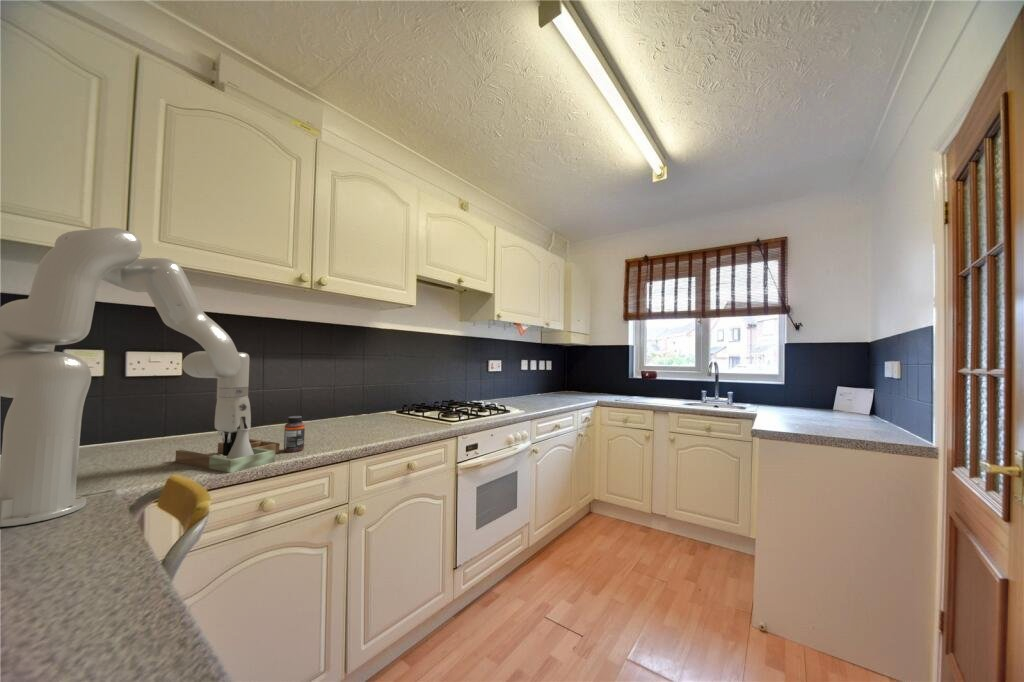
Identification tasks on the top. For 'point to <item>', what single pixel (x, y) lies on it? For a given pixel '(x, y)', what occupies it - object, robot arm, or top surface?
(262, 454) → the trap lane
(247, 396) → the robot arm
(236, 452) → the flask
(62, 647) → the top surface
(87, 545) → the top surface
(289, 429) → the supplement bottle
